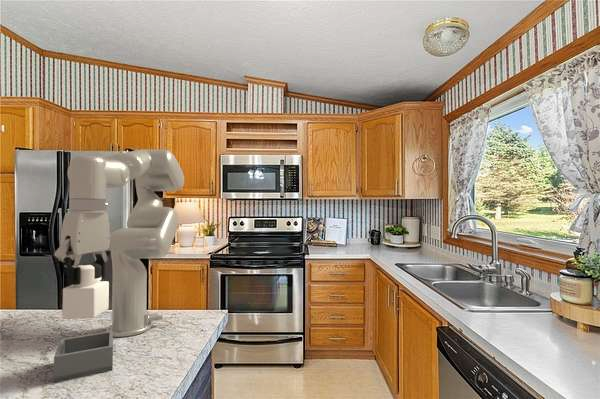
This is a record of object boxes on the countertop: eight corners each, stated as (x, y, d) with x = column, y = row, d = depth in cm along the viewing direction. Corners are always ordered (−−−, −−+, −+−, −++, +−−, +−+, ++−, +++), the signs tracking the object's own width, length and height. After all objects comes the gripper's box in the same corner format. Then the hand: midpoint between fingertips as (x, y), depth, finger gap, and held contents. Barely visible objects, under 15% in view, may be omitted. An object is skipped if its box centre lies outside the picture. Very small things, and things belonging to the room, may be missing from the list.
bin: (112, 351, 87) (113, 330, 87) (112, 370, 78) (112, 346, 78) (60, 361, 82) (61, 339, 82) (53, 382, 72) (53, 357, 72)
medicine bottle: (79, 309, 83) (80, 262, 83) (109, 309, 84) (109, 261, 84) (61, 319, 76) (62, 267, 76) (93, 318, 77) (94, 266, 77)
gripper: (105, 206, 90) (104, 273, 89) (39, 206, 73) (38, 288, 73) (128, 206, 88) (127, 274, 87) (65, 207, 71) (64, 291, 71)
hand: (86, 280), depth 80 cm, fingers closed on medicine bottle, 6 cm apart
